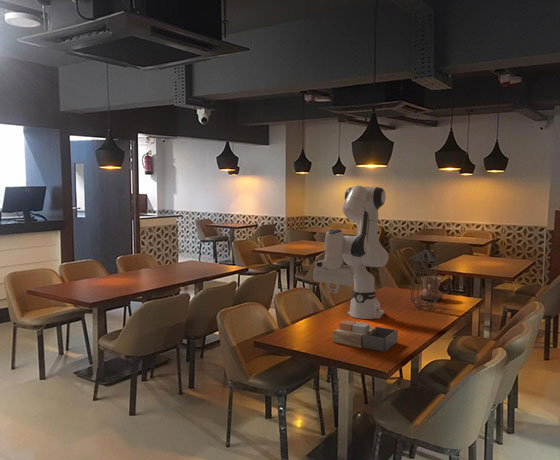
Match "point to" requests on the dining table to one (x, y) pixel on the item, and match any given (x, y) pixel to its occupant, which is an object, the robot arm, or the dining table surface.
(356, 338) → the board
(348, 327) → the terracotta tile
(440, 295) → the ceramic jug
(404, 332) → the dining table surface
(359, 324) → the blue-grey tile
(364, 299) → the robot arm
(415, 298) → the geometric lantern
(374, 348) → the tray
